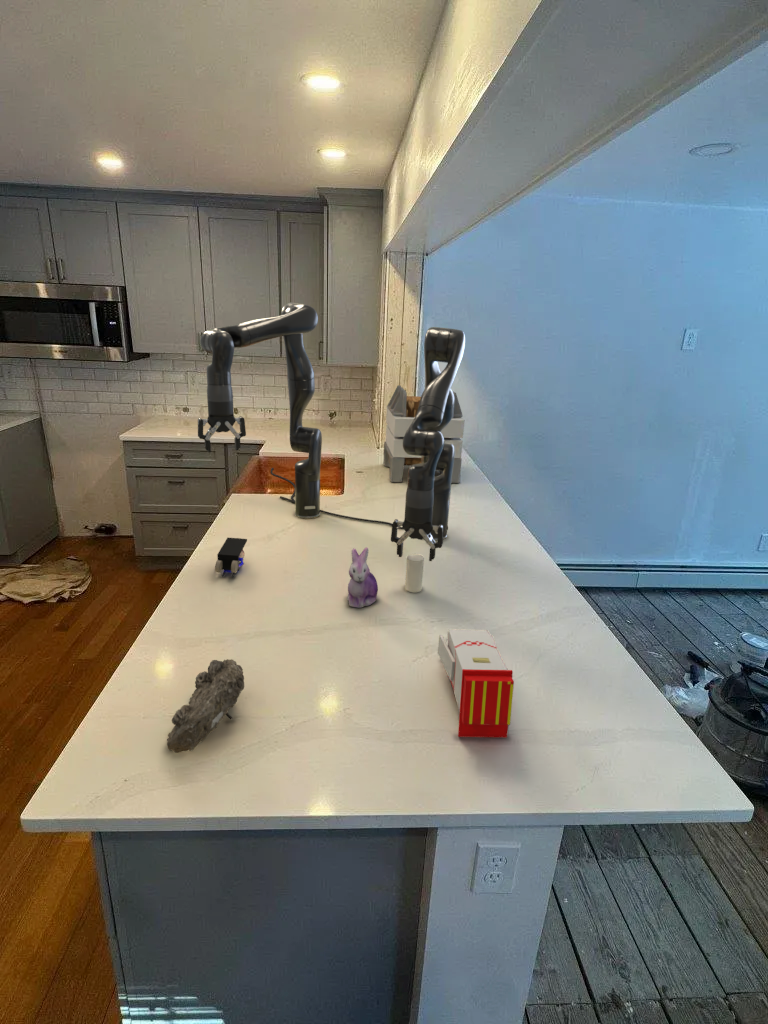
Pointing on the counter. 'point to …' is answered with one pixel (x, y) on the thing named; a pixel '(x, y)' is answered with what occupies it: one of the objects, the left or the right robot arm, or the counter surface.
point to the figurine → (361, 581)
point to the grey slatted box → (398, 422)
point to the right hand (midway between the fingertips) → (415, 558)
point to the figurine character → (230, 556)
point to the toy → (478, 682)
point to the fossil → (206, 705)
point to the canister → (414, 572)
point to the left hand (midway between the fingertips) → (223, 450)
